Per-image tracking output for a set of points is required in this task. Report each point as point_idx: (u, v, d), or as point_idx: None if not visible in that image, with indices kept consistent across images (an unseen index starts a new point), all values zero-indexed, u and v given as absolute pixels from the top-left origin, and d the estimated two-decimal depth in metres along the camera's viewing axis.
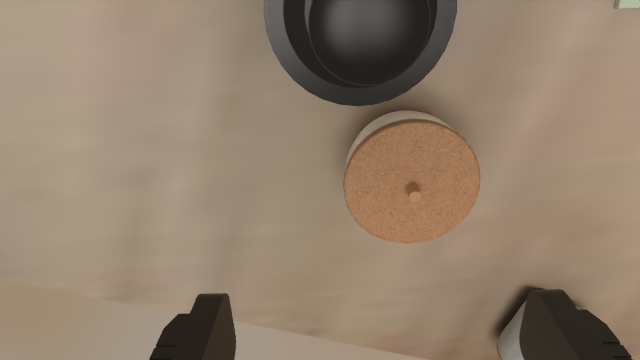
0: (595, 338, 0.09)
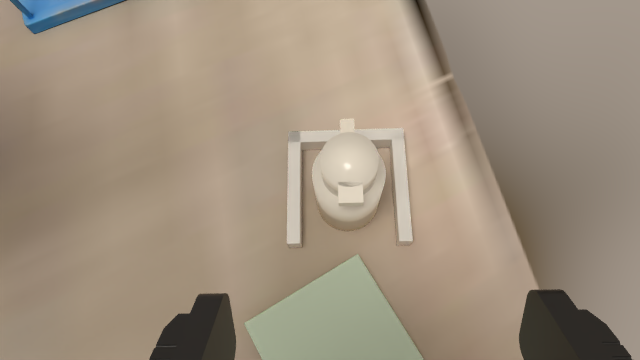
0: (595, 338, 0.09)
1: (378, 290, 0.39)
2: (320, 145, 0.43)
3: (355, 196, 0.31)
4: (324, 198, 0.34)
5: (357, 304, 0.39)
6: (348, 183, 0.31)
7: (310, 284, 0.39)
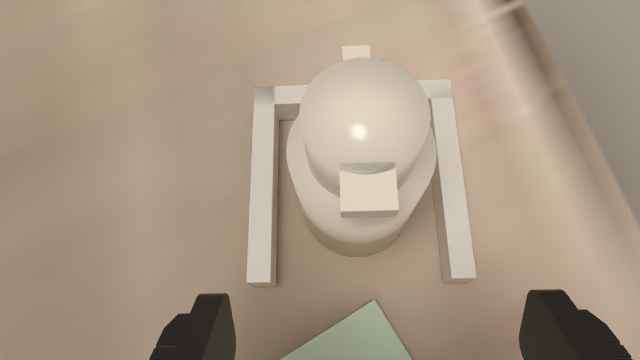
0: (595, 338, 0.09)
1: None
2: None
3: (379, 196, 0.13)
4: (311, 200, 0.17)
5: None
6: (363, 167, 0.14)
7: (289, 356, 0.22)
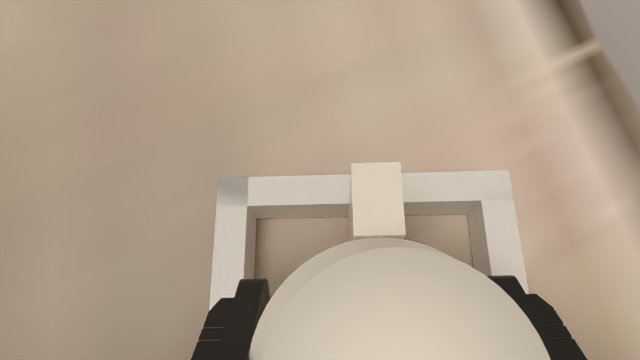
0: (537, 319, 0.10)
1: None
2: (299, 211, 0.18)
3: None
4: None
5: None
6: None
7: None
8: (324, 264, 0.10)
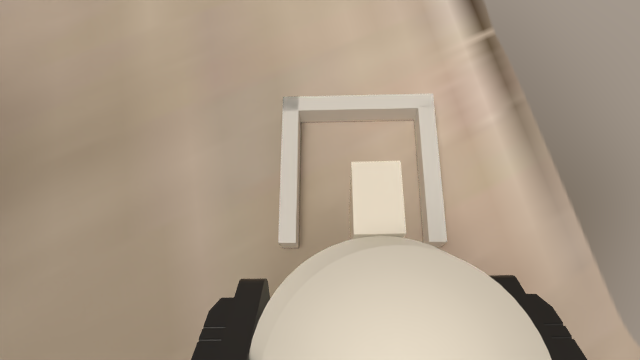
0: (537, 319, 0.10)
1: None
2: (324, 115, 0.33)
3: None
4: None
5: None
6: None
7: None
8: (324, 263, 0.10)
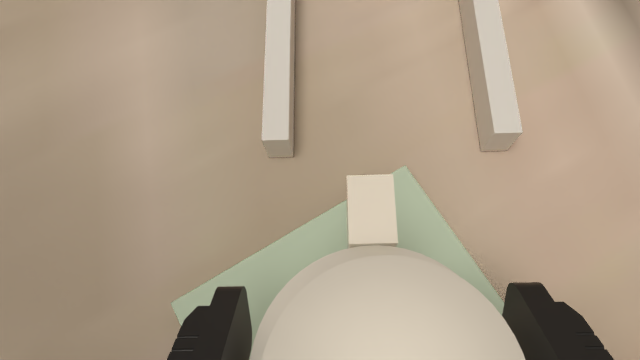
0: (569, 328, 0.10)
1: (450, 236, 0.19)
2: None
3: None
4: None
5: None
6: None
7: (310, 224, 0.19)
8: (321, 270, 0.11)
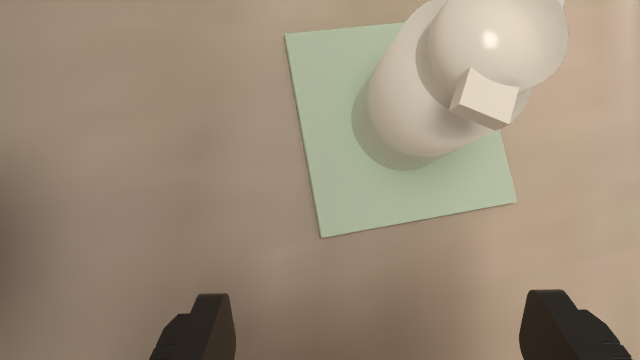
0: (595, 338, 0.09)
1: None
2: None
3: (497, 105, 0.14)
4: (406, 89, 0.17)
5: None
6: (491, 73, 0.14)
7: (395, 25, 0.26)
8: None
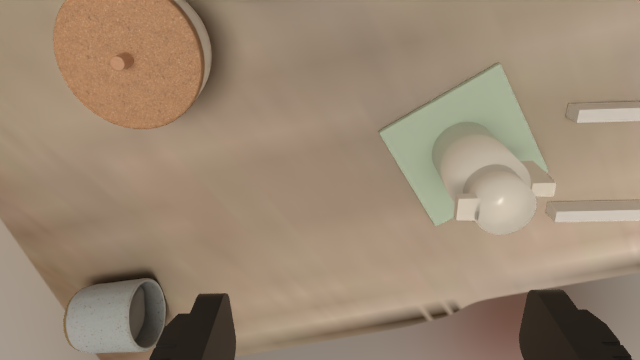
0: (595, 338, 0.09)
1: None
2: None
3: (463, 213, 0.31)
4: (466, 167, 0.33)
5: None
6: (477, 207, 0.31)
7: (527, 128, 0.40)
8: (525, 174, 0.33)
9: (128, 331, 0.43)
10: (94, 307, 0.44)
